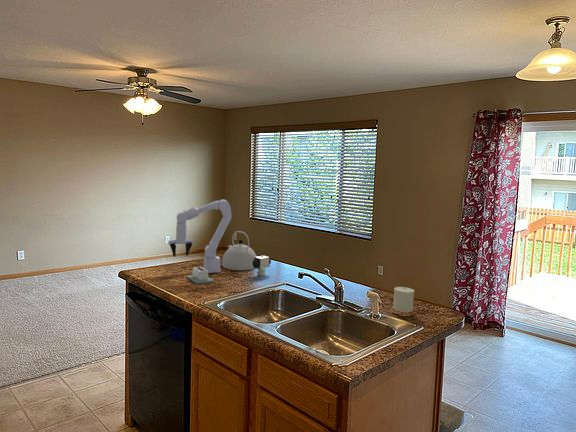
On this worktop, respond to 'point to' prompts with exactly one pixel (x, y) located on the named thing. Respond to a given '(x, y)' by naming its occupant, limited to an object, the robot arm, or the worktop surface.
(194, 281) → the board
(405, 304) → the can
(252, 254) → the kettle
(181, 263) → the worktop surface
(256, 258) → the pneumatic valve
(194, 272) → the block
